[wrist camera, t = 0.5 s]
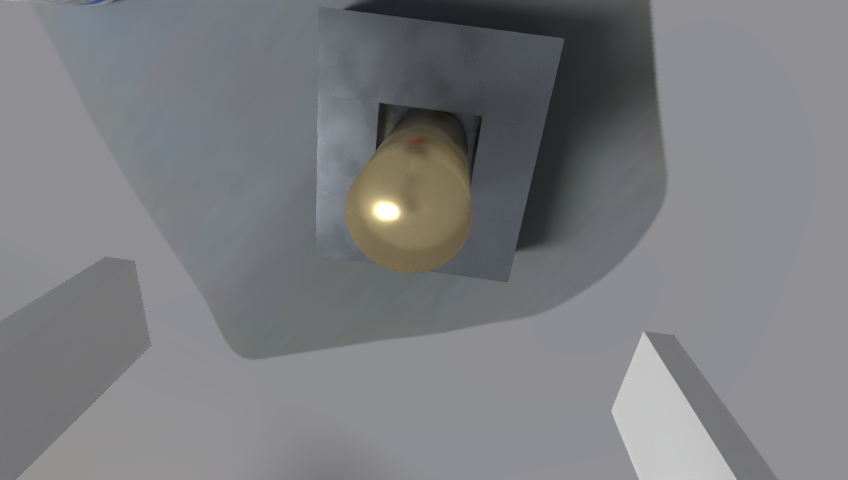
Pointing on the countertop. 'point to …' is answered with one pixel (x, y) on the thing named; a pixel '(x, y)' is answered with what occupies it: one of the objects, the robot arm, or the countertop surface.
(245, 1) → the countertop surface
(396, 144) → the cream rounded cylinder
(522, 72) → the housing
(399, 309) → the countertop surface
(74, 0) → the supplement tub
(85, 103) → the countertop surface
